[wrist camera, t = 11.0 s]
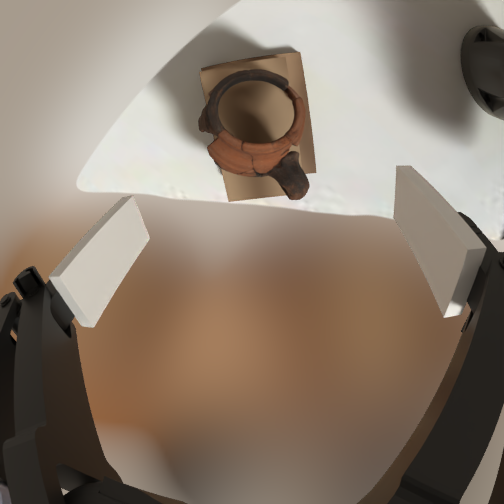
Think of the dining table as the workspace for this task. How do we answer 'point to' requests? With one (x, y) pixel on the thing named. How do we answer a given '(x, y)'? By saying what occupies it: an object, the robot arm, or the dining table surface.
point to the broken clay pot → (258, 154)
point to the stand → (260, 116)
